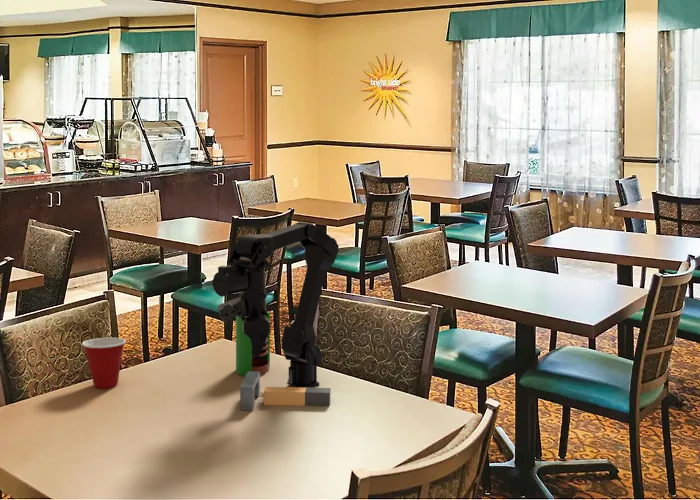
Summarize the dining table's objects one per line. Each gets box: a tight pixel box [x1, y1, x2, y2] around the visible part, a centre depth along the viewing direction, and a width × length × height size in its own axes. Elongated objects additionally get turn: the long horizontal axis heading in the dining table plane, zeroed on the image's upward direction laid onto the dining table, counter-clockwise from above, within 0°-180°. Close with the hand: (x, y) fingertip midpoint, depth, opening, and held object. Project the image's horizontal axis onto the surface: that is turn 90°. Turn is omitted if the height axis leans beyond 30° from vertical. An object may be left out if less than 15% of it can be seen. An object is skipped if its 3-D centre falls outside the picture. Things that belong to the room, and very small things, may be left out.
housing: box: [239, 371, 261, 411], centre depth 192 cm, size 3×11×6 cm, turn 178°
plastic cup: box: [81, 337, 127, 390], centre depth 202 cm, size 11×11×12 cm
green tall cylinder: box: [235, 311, 271, 377], centre depth 214 cm, size 10×9×20 cm
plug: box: [259, 386, 331, 407], centre depth 192 cm, size 17×3×3 cm, turn 88°
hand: (255, 350), depth 190 cm, fingers open, 9 cm apart
